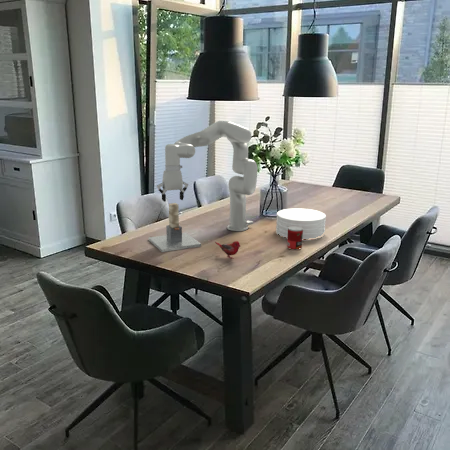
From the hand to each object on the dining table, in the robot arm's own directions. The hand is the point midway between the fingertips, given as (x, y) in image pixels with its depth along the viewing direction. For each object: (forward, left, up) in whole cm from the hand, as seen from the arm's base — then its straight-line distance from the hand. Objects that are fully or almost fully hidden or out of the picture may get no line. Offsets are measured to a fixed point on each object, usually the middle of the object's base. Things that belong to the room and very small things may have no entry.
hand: (172, 200), depth 264 cm
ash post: (0, 0, -22) cm, 22 cm away
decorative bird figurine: (-16, +32, -24) cm, 43 cm away
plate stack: (-74, +13, -24) cm, 79 cm away
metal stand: (0, 0, -24) cm, 24 cm away
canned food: (-55, +34, -24) cm, 69 cm away
